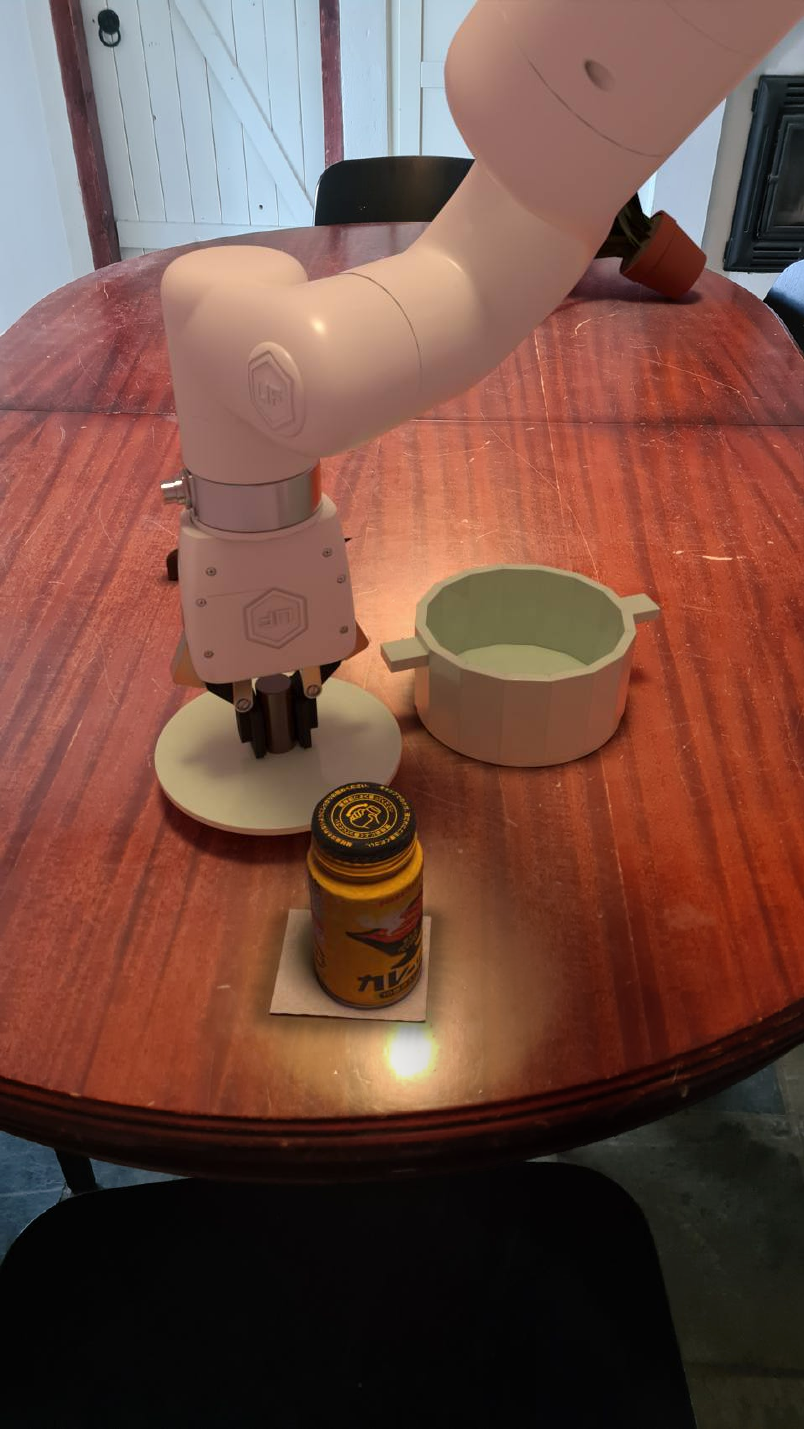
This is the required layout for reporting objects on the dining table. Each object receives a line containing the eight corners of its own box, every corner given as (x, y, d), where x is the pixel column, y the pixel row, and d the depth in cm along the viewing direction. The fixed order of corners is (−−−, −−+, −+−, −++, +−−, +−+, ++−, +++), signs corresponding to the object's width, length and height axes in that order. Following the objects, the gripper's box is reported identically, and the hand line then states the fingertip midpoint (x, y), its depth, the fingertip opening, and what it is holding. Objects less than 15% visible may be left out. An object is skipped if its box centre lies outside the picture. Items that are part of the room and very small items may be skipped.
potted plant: (737, 137, 170) (525, -31, 158) (862, 94, 134) (599, -127, 122) (585, 383, 182) (377, 245, 170) (662, 404, 146) (405, 231, 134)
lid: (437, 808, 66) (438, 732, 62) (178, 869, 62) (163, 792, 58) (361, 667, 79) (359, 598, 75) (141, 711, 74) (127, 639, 71)
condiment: (425, 1022, 56) (427, 865, 48) (269, 1014, 56) (248, 857, 49) (431, 919, 61) (434, 765, 54) (290, 912, 62) (273, 758, 55)
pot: (693, 733, 75) (711, 647, 71) (422, 796, 70) (423, 708, 65) (594, 624, 87) (604, 545, 83) (356, 671, 82) (352, 589, 77)
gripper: (117, 539, 53) (167, 803, 65) (411, 495, 58) (410, 750, 69) (102, 481, 59) (150, 732, 70) (371, 444, 63) (376, 687, 74)
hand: (279, 739), depth 69 cm, fingers closed on lid, 2 cm apart
